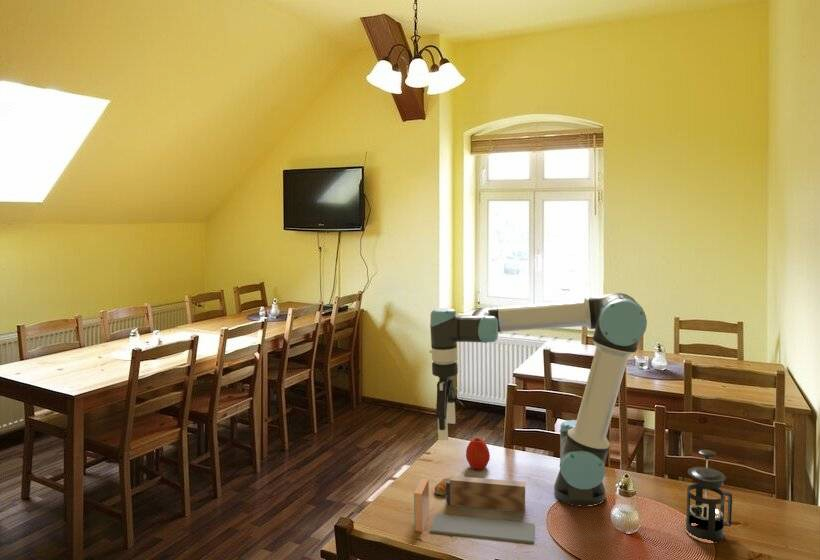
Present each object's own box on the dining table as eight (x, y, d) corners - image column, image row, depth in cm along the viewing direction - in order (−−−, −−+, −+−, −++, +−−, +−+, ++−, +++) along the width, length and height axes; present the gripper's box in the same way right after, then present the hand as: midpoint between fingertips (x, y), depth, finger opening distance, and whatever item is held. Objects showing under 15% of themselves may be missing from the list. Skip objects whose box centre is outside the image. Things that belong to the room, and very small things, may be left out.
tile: (429, 515, 170) (428, 479, 168) (422, 531, 161) (421, 493, 160) (421, 514, 170) (420, 478, 169) (414, 530, 161) (413, 493, 160)
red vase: (463, 463, 204) (463, 433, 203) (486, 461, 205) (486, 432, 204) (468, 473, 196) (468, 442, 195) (492, 471, 197) (492, 441, 196)
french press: (689, 543, 152) (692, 458, 150) (677, 524, 162) (679, 444, 159) (737, 544, 151) (740, 459, 148) (722, 525, 160) (725, 445, 158)
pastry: (443, 499, 179) (443, 487, 178) (429, 492, 184) (428, 480, 184) (465, 490, 185) (465, 478, 184) (450, 483, 190) (450, 471, 190)
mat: (534, 525, 163) (534, 523, 162) (533, 543, 154) (533, 541, 154) (436, 515, 169) (435, 513, 169) (429, 532, 160) (429, 530, 160)
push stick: (525, 507, 173) (525, 482, 172) (524, 513, 170) (524, 486, 169) (448, 500, 179) (447, 475, 178) (446, 505, 175) (445, 479, 175)
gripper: (439, 351, 184) (442, 416, 186) (423, 372, 160) (426, 446, 162) (463, 351, 182) (465, 417, 185) (450, 373, 158) (453, 448, 160)
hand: (447, 431), depth 173 cm, fingers open, 13 cm apart
